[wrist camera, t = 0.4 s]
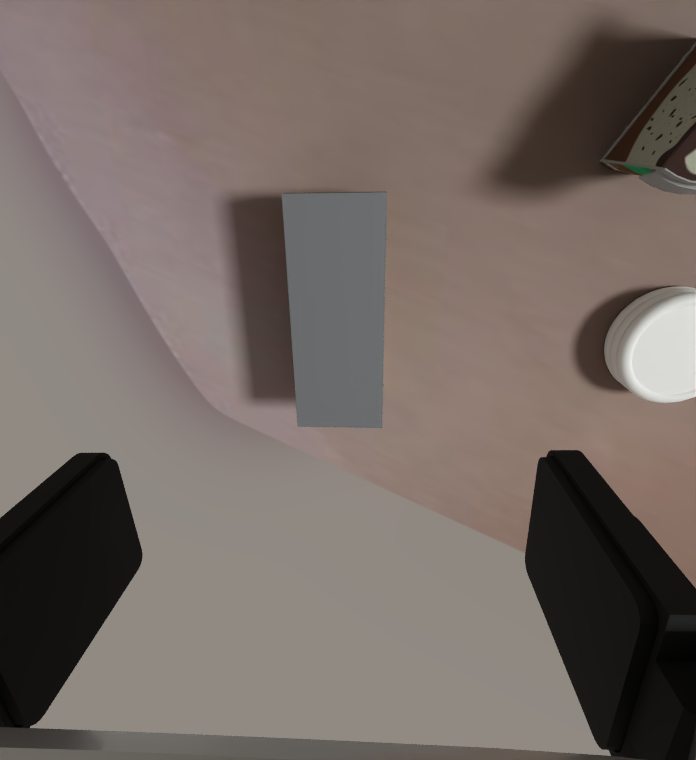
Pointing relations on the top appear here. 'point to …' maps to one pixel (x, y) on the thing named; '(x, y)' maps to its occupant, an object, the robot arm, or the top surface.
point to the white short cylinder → (656, 345)
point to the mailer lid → (337, 305)
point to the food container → (663, 134)
